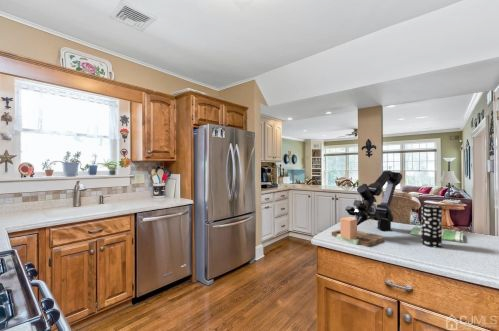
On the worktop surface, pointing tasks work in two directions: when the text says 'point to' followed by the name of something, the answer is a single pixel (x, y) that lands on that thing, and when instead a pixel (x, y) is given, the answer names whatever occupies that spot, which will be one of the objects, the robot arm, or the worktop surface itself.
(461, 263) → the worktop surface
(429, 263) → the worktop surface
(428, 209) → the spotted tube
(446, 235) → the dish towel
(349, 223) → the terracotta block
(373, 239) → the walnut board
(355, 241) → the green end pad
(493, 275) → the worktop surface
